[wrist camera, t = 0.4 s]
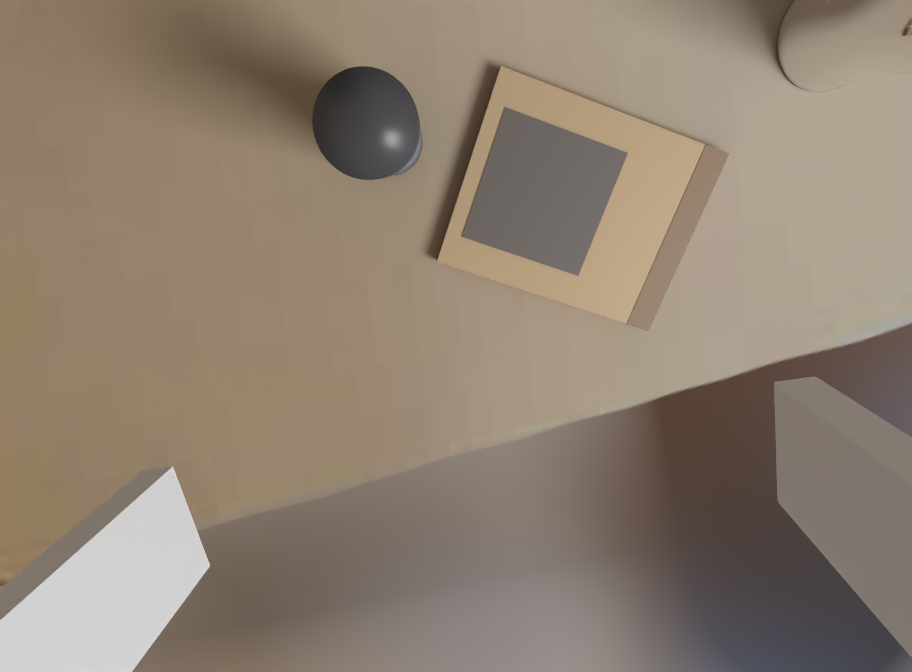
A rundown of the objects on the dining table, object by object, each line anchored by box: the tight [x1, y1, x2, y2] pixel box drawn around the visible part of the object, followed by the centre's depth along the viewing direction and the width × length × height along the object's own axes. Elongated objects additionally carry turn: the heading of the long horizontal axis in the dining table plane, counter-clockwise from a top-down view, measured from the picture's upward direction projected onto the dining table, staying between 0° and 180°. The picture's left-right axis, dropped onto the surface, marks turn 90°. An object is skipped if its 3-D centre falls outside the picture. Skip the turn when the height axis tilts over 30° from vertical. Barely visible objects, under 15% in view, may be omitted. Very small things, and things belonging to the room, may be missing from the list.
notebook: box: [437, 66, 729, 331], centre depth 34 cm, size 12×15×1 cm
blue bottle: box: [313, 67, 422, 180], centre depth 27 cm, size 4×4×12 cm
